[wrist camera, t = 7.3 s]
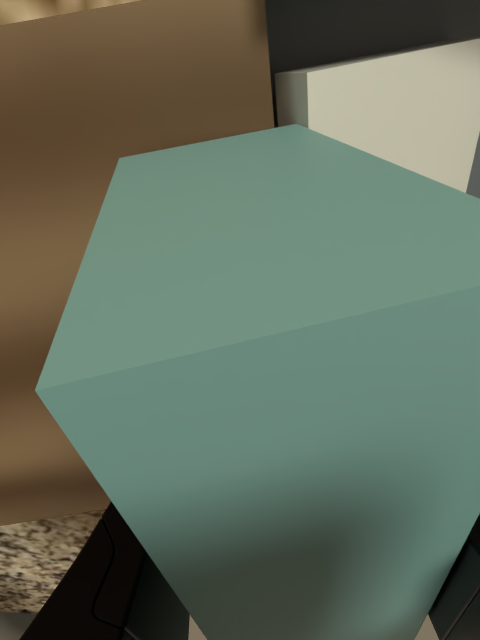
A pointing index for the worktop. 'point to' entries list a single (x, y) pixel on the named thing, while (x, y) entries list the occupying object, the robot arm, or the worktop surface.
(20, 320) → the board
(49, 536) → the worktop surface
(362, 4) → the tray
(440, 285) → the tapered teal post
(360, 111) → the tile
